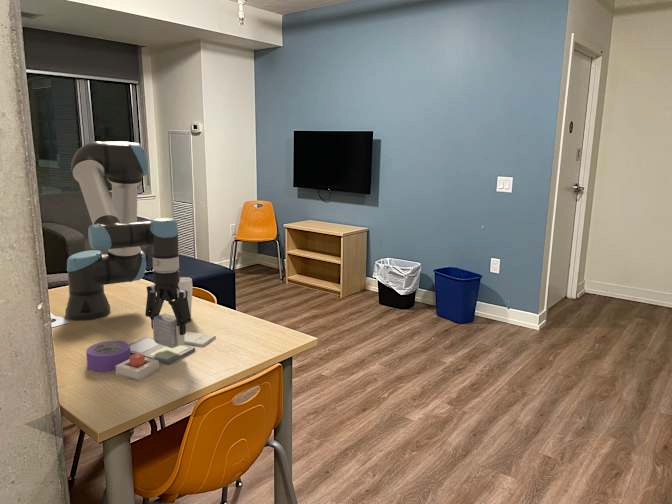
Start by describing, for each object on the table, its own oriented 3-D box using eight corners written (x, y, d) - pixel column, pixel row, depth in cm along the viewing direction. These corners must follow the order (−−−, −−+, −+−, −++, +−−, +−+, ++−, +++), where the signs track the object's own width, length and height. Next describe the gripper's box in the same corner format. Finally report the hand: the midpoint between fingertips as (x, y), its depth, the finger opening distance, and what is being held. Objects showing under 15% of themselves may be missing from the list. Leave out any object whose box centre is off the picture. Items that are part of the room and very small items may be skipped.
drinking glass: (196, 315, 192) (194, 277, 189) (189, 321, 185) (187, 282, 182) (178, 314, 192) (177, 276, 189) (171, 320, 186) (169, 281, 183)
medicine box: (183, 344, 156) (182, 317, 154) (171, 349, 152) (170, 321, 150) (166, 338, 160) (165, 312, 158) (154, 343, 156) (153, 316, 154)
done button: (126, 367, 142) (126, 357, 142) (137, 362, 146) (136, 352, 145) (137, 370, 141) (137, 360, 140) (148, 365, 144) (147, 355, 144)
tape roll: (114, 352, 157) (113, 337, 156) (139, 361, 152) (138, 345, 151) (78, 365, 147) (77, 349, 146) (104, 376, 142) (103, 359, 141)
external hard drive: (183, 334, 175) (215, 339, 171) (169, 343, 167) (203, 348, 164) (183, 330, 174) (215, 334, 171) (169, 338, 167) (202, 343, 163)
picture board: (118, 352, 157) (117, 348, 157) (146, 339, 168) (146, 336, 168) (168, 364, 149) (168, 361, 149) (195, 350, 160) (195, 347, 160)
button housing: (116, 375, 142) (115, 365, 141) (137, 364, 149) (137, 355, 148) (138, 381, 139) (137, 371, 138) (158, 370, 146) (158, 360, 145)
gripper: (129, 268, 152) (133, 339, 157) (185, 277, 144) (188, 352, 148) (148, 263, 159) (151, 331, 163) (202, 271, 150) (204, 343, 155)
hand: (169, 341), depth 156 cm, fingers closed on medicine box, 8 cm apart
